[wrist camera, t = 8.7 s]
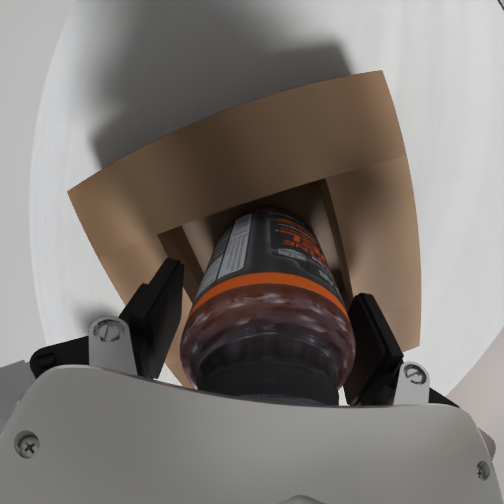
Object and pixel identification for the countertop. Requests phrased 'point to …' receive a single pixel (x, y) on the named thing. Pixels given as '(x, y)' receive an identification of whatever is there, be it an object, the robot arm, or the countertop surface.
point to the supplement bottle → (268, 316)
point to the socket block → (269, 196)
